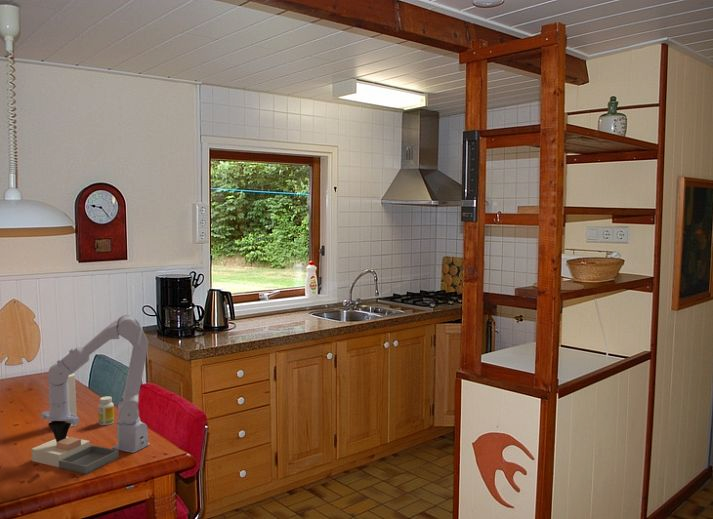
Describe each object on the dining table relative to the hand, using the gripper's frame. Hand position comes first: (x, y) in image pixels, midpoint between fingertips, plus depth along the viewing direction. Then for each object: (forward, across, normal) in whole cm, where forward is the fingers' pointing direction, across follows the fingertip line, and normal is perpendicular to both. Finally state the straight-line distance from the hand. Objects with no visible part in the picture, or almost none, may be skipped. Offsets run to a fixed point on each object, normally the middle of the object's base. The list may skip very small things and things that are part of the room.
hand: (61, 442), depth 195 cm
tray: (+5, +12, 0) cm, 13 cm away
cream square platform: (+5, 0, 0) cm, 5 cm away
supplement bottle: (+5, -10, +29) cm, 31 cm away
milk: (+5, -22, +21) cm, 31 cm away
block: (+1, +4, 0) cm, 4 cm away
